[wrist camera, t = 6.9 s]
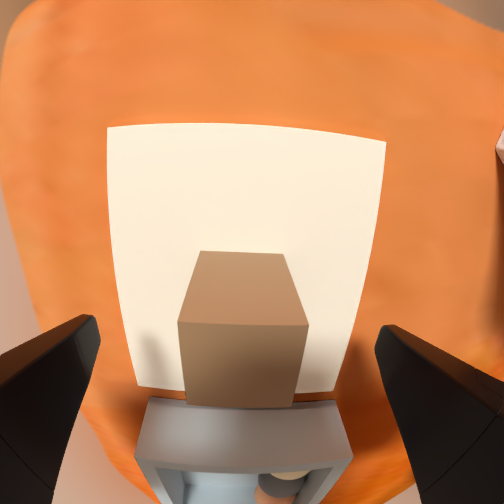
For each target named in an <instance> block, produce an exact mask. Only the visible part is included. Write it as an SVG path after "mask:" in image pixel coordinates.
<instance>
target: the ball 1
mask: <svg viewBox="0 0 504 504" xmlns="http://www.w3.org/2000/svg"><path fill="white" fill-rule="evenodd" d="M308 472H310V470H307V471H297V472H285V473H270V474H271V475H273V476H275V477H277V478H279V479H283V480H294V479H298V478H300V477H303V476H304V475H306V474H307V473H308Z"/></svg>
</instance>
